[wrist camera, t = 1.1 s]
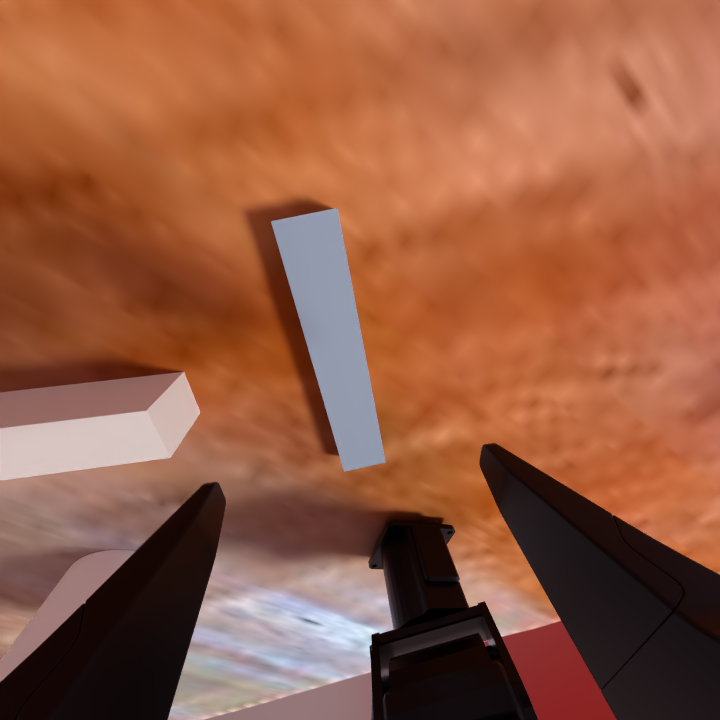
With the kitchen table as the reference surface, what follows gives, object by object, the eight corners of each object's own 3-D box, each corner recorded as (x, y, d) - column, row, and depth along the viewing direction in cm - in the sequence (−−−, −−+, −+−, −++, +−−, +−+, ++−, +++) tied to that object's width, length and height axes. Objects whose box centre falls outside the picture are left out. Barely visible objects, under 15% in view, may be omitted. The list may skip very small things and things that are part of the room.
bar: (378, 433, 22) (385, 462, 19) (341, 441, 22) (344, 471, 19) (335, 211, 15) (337, 207, 12) (280, 221, 15) (270, 221, 12)
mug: (136, 613, 28) (41, 808, 19) (55, 549, 23) (-135, 778, 14) (217, 593, 29) (163, 777, 19) (155, 524, 23) (37, 734, 14)
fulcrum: (173, 290, 15) (111, 316, 11) (233, 450, 21) (208, 512, 16) (-43, 310, 14) (-207, 347, 10) (77, 471, 20) (6, 542, 15)
